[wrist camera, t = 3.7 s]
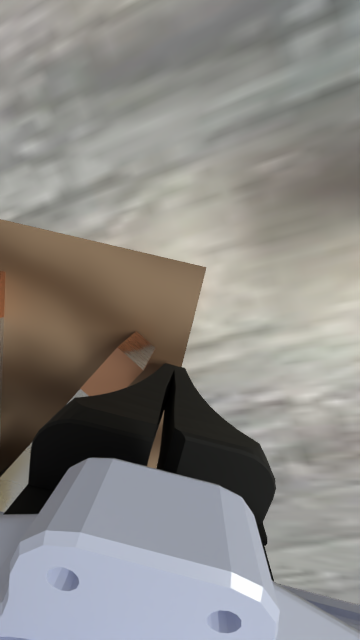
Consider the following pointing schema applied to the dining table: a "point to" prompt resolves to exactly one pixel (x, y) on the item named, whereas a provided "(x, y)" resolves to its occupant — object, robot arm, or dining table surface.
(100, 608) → the robot arm
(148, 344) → the hinged tong arm
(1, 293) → the fixed tong arm
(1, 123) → the dining table surface
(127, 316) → the walnut board
